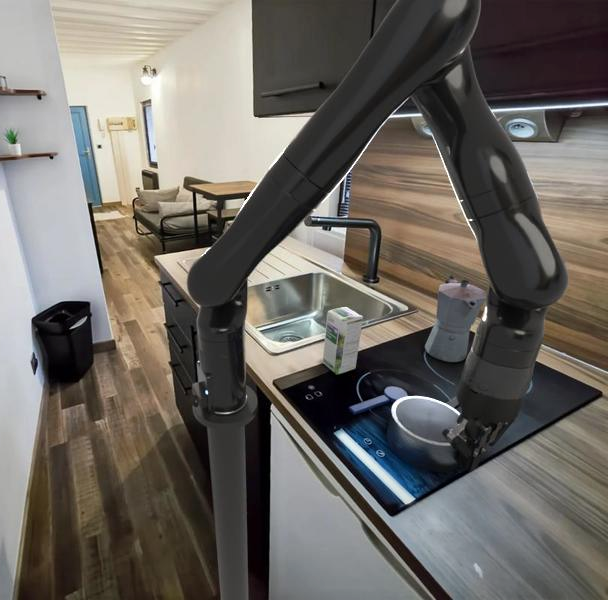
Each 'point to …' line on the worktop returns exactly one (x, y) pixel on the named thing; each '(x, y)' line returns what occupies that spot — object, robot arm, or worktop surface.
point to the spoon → (380, 400)
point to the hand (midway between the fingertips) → (466, 466)
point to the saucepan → (423, 432)
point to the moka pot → (454, 319)
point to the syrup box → (342, 339)
